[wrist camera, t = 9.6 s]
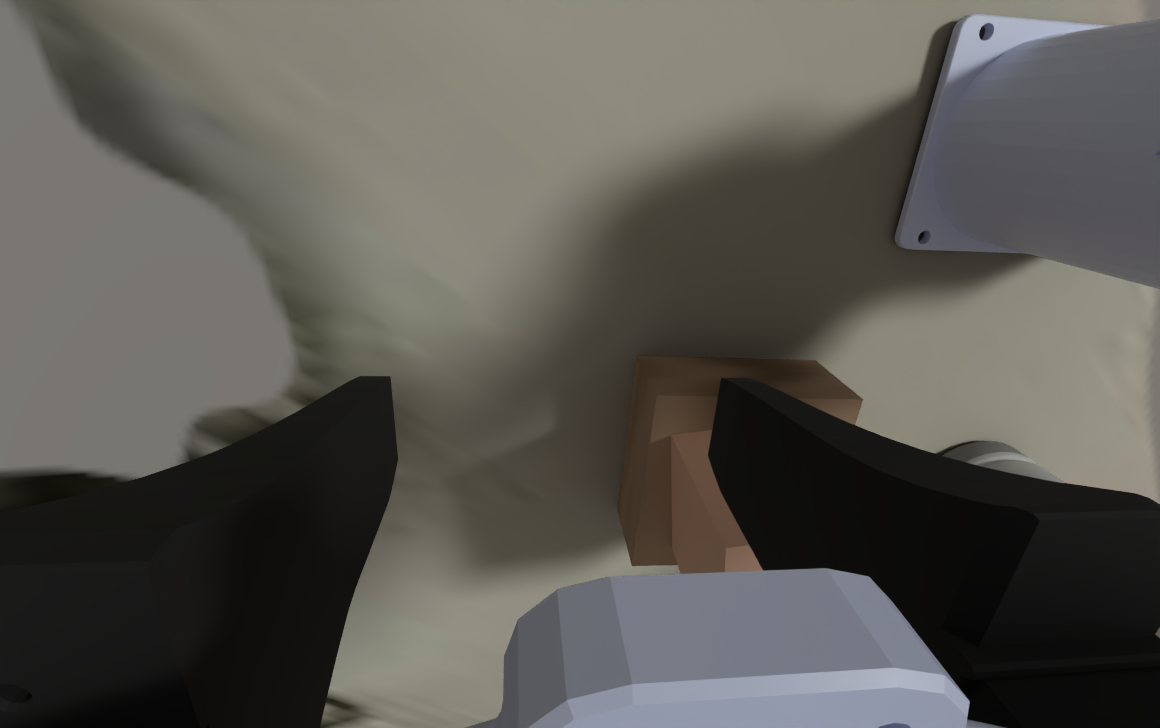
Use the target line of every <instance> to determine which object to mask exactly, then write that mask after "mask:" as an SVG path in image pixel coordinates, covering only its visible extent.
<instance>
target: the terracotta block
mask: <svg viewBox="0 0 1160 728" xmlns="http://www.w3.org/2000/svg"><path fill="white" fill-rule="evenodd" d="M711 434H712V430H709V431H700V432H692V433H683V434H675V435H671V487H672V550H673V553H674V556H675V558H676V561H677V564H678V567H679V570H680V572H681V574H692V573H717V572H743V571H763V570H762V568H761V566H760V564H759V562H758V560H757V559H756V557H755V555H754V553H753V551H752V549H751V548H750V546H749V544H748V542H747V540H746V538H745V537H744V535H743V533H742V531H741V529H740V527H739V526H738V524H737V522H736V520H735V518H734V516H733V514H732V513H731V511H730V509H729V507H728V505H727V503H726V501H725V499H724V497H723V495H722V493H721V492H720V489H719V486H718V484H717V481H716V478H715V476H714V473H713V470H712V467H711V464H710V461H709V458H708V451H709V445H710V440H711Z"/></svg>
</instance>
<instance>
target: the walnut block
mask: <svg viewBox="0 0 1160 728" xmlns="http://www.w3.org/2000/svg"><path fill="white" fill-rule="evenodd" d="M721 378H750V379H753V380H756V381H759V382H761V383H764V384H766V385H768V386H771V387H773V388H775V389H777V390H780V391H782V392H784V393H786V394H788V395H790V396H792V397H794V398H796V399H799V400H801V401H803V402H805V403H807V404H809V405H811V406H813V407H815V408H817V409H820V410H822V411H824V412H826V413H828V414H830V415H833V416H835V417H837V418H839V419H841V420H844V421H846V422H849V423H851V424H853V425H855V423H856V420H857V417H858V414H859V410H860V407H861V404H862V401H863V399H862V398H861V397H859V396H858V395H857V394H856V393H855V392H853V391H852V390H851V389H850V388H848V387H847V386H846V385H845V384H844V383H842V382H841V381H840V380H839V379H837V378H836V377H835V376H834V375H833V374H831V373H830V372H829V371H828V370H827V369H825V368H824V367H823V366H822V365H820V364H819V363H818V362H817V361H816V360H782V359H745V358H708V357H672V356H637V358H636V366H635V374H634V382H633V390H632V398H631V406H630V414H629V422H628V430H627V438H626V446H625V454H624V462H623V470H622V478H621V486H620V494H619V502H618V513H619V517H620V521H621V525H622V529H623V533H624V537H625V541H626V544H627V548H628V552H629V556H630V560H631V564H632V566H648V565H678V564H677V561H676V558H675V556H674V553H673V550H672V487H671V435H675V434H683V433H692V432H700V431H709V430H712V428H713V422H714V416H715V411H716V405H717V399H718V393H719V388H720V382H721Z"/></svg>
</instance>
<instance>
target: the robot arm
mask: <svg viewBox="0 0 1160 728" xmlns="http://www.w3.org/2000/svg"><path fill="white" fill-rule="evenodd" d="M982 26H984V28H985V34H984V36H983V38H982V39H980V37H979V31H980V29H981V27H982ZM923 231H924V236H923V238H922V239H921V240H920V241H919V242H918V236H919V235H920V233H921V232H923ZM895 242H896V244H897V245H898V246H899V247H902V248H905V249H911V250H940V251H970V252H999V253H1027V254H1031V255H1035V256H1038V257H1042V258H1046V259H1050V260H1053V261H1057V262H1061V263H1064V264H1068V265H1072V266H1076V267H1079V268H1083V269H1087V270H1091V271H1094V272H1098V273H1102V274H1105V275H1109V276H1113V277H1117V278H1120V279H1124V280H1128V281H1132V282H1135V283H1139V284H1143V285H1147V286H1150V287H1154V288H1158V289H1160V19H1156V20H1149V21H1143V22H1136V23H1130V24H1123V25H1116V26H1106V25H1095V24H1084V23H1073V22H1062V21H1051V20H1040V19H1029V18H1018V17H1007V16H996V15H985V14H973V15H968V16H965V17H963V18H961V19H960V20H959V21H958V22H957V23H956V25H955V27H954V29H953V31H952V35H951V38H950V42H949V46H948V49H947V53H946V56H945V60H944V63H943V67H942V70H941V74H940V78H939V81H938V85H937V88H936V92H935V95H934V99H933V102H932V106H931V110H930V113H929V117H928V120H927V124H926V127H925V131H924V134H923V138H922V142H921V145H920V149H919V152H918V156H917V159H916V163H915V166H914V170H913V174H912V177H911V181H910V184H909V188H908V191H907V195H906V199H905V202H904V206H903V209H902V213H901V216H900V220H899V223H898V227H897V231H896V234H895ZM708 458H709V461H710V464H711V467H712V470H713V473H714V476H715V478H716V481H717V484H718V486H719V489H720V492H721V493H722V495H723V497H724V499H725V501H726V503H727V505H728V507H729V509H730V511H731V513H732V514H733V516H734V518H735V520H736V522H737V524H738V526H739V527H740V529H741V531H742V533H743V535H744V537H745V538H746V540H747V542H748V544H749V546H750V548H751V549H752V551H753V553H754V555H755V557H756V559H757V560H758V562H759V564H760V566H761V568H762V570H763V571H743V572H717V573H692V574H666V575H641V576H616V577H605V578H601V579H597V580H592V581H588V582H584V583H580V584H576V585H572V586H567V587H563V588H560V589H557V590H556V591H555V592H553V593H552V594H551V595H549V596H548V597H547V598H545V599H544V600H543V601H541V602H540V603H539V604H538V605H536V606H535V607H534V608H532V609H531V610H530V611H528V612H527V613H526V614H524V615H523V616H522V617H521V618H519V619H518V621H517V624H516V626H515V629H514V632H513V634H512V637H511V640H510V642H509V645H508V647H507V650H506V653H505V655H504V690H503V703H502V709H501V712H500V714H499V715H498V717H497V718H495V719H492V720H489V721H485V722H482V723H479V724H475V725H472V726H469V727H466V728H1160V638H1159V637H1158V636H1157V635H1155V634H1156V632H1157V631H1158V629H1159V628H1160V504H1158V503H1156V502H1155V501H1153V500H1151V499H1150V498H1147V497H1144V496H1142V495H1138V494H1135V493H1129V492H1122V491H1115V490H1108V489H1101V488H1095V487H1088V486H1081V485H1074V484H1067V483H1060V482H1054V481H1049V480H1043V479H1038V478H1033V477H1028V476H1023V475H1018V474H1013V473H1008V472H1004V471H999V470H995V469H991V468H986V467H982V466H978V465H974V464H970V463H967V462H963V461H959V460H955V459H952V458H948V457H944V456H941V455H937V454H934V453H931V452H927V451H924V450H921V449H918V448H915V447H912V446H909V445H906V444H903V443H900V442H897V441H894V440H891V439H889V438H886V437H883V436H880V435H878V434H875V433H873V432H870V431H867V430H865V429H863V428H860V427H858V426H856V425H853V424H851V423H849V422H846V421H844V420H841V419H839V418H837V417H835V416H833V415H830V414H828V413H826V412H824V411H822V410H820V409H817V408H815V407H813V406H811V405H809V404H807V403H805V402H803V401H801V400H799V399H796V398H794V397H792V396H790V395H788V394H786V393H784V392H782V391H780V390H777V389H775V388H773V387H771V386H768V385H766V384H764V383H761V382H759V381H756V380H753V379H750V378H721V382H720V388H719V393H718V399H717V405H716V411H715V416H714V422H713V428H712V434H711V440H710V445H709V451H708ZM397 462H398V455H397V444H396V433H395V422H394V411H393V400H392V389H391V379H390V376H360V377H357V378H355V379H353V380H351V381H349V382H347V383H345V384H344V385H342V386H340V387H338V388H337V389H335V390H333V391H332V392H330V393H328V394H327V395H325V396H323V397H321V398H320V399H318V400H316V401H315V402H313V403H311V404H310V405H308V406H306V407H304V408H303V409H301V410H299V411H298V412H296V413H294V414H292V415H290V416H288V417H286V418H284V419H283V420H281V421H279V422H277V423H275V424H273V425H271V426H269V427H267V428H266V429H264V430H262V431H260V432H258V433H256V434H254V435H252V436H250V437H248V438H245V439H243V440H241V441H239V442H237V443H234V444H232V445H230V446H227V447H225V448H222V449H220V450H218V451H215V452H213V453H210V454H208V455H206V456H203V457H200V458H198V459H195V460H192V461H189V462H186V463H183V464H180V465H177V466H174V467H171V468H169V469H166V470H163V471H160V472H157V473H154V474H151V475H148V476H145V477H142V478H139V479H135V480H132V481H129V482H125V483H121V484H118V485H114V486H111V487H107V488H104V489H100V490H96V491H92V492H88V493H84V494H80V495H76V496H72V497H68V498H64V499H60V500H55V501H51V502H47V503H42V504H37V505H32V506H27V507H22V508H17V509H12V510H7V511H2V512H0V728H320V725H321V720H322V716H323V711H324V707H325V703H326V698H327V694H328V690H329V686H330V682H331V677H332V673H333V669H334V665H335V661H336V656H337V653H338V649H339V645H340V641H341V637H342V633H343V629H344V625H345V622H346V618H347V614H348V610H349V607H350V604H351V601H352V598H353V594H354V591H355V588H356V586H357V583H358V580H359V578H360V575H361V573H362V570H363V567H364V565H365V562H366V560H367V557H368V554H369V552H370V549H371V546H372V544H373V541H374V539H375V536H376V533H377V531H378V528H379V526H380V523H381V520H382V517H383V515H384V512H385V509H386V507H387V504H388V501H389V498H390V494H391V490H392V485H393V481H394V476H395V471H396V466H397Z"/></svg>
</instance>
